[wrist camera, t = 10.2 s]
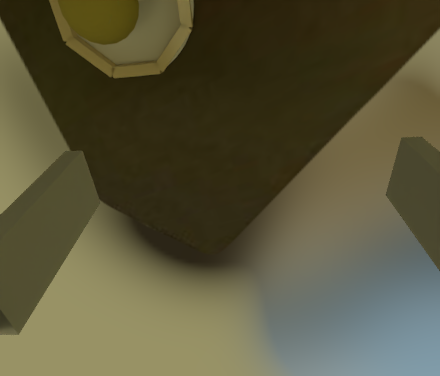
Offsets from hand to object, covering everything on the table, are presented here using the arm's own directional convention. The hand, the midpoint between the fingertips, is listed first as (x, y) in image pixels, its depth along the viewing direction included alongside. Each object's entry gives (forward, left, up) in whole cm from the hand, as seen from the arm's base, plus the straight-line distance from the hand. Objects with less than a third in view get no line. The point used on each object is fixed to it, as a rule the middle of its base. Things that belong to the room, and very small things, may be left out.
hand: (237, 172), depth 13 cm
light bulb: (-6, -12, -27) cm, 30 cm away
